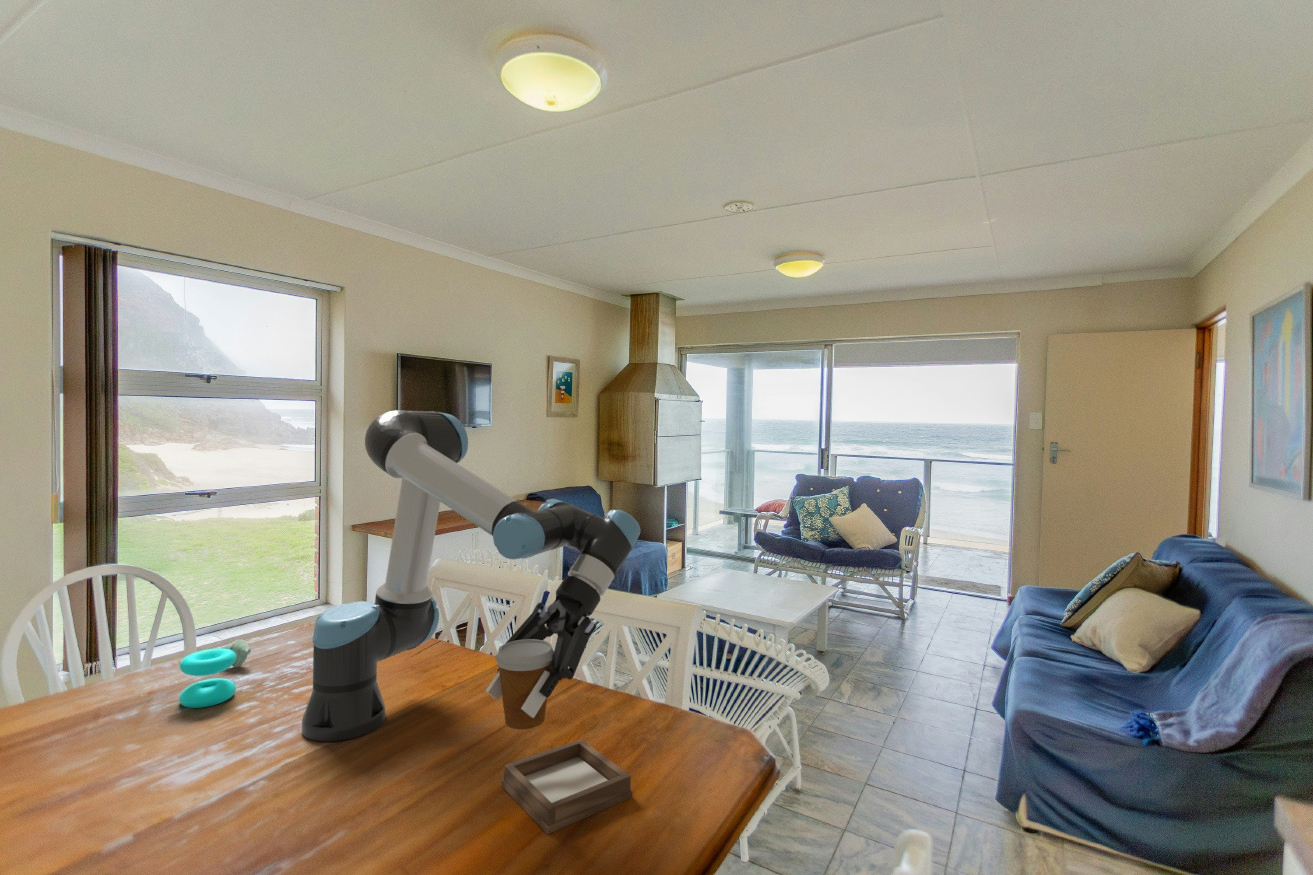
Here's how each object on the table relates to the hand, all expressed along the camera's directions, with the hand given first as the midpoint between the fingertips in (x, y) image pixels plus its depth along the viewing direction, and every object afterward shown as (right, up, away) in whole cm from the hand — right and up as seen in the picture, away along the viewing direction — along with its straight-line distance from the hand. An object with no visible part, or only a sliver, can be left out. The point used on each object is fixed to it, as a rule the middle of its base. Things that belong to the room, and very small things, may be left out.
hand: (509, 704), depth 99 cm
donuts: (-74, -15, +36) cm, 84 cm away
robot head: (-80, -14, +55) cm, 98 cm away
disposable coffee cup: (+2, -4, +3) cm, 5 cm away
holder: (+8, -17, +6) cm, 20 cm away
